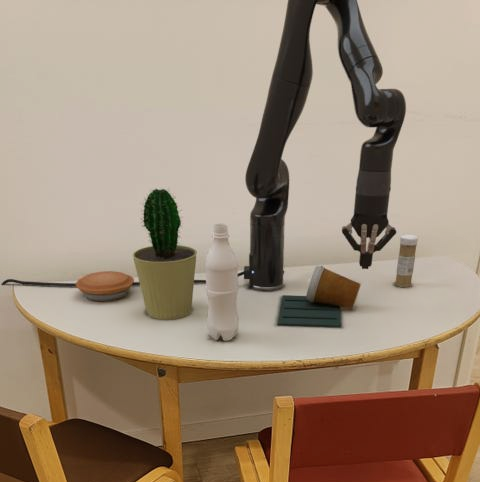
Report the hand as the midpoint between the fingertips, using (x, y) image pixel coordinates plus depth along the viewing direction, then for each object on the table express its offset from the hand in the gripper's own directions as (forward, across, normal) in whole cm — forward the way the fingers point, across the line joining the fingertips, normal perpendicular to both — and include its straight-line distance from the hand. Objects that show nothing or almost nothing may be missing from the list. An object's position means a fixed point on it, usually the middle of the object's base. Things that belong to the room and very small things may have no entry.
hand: (364, 268), depth 143 cm
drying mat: (+12, +12, -1) cm, 17 cm away
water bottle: (+12, +32, +17) cm, 38 cm away
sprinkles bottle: (+12, -13, -24) cm, 30 cm away
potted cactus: (+12, +48, +2) cm, 49 cm away
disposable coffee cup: (+8, +1, -4) cm, 9 cm away
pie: (+12, +68, -9) cm, 70 cm away
